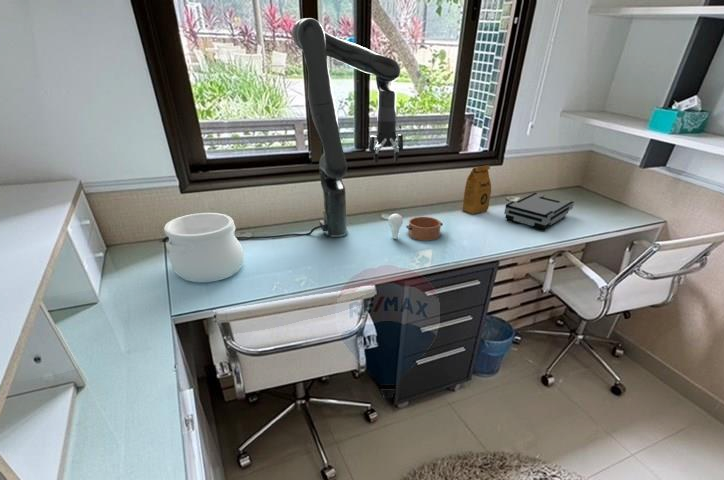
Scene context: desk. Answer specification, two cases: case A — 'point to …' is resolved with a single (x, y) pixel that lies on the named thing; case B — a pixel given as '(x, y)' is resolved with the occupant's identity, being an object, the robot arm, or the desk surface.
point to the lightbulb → (395, 224)
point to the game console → (537, 211)
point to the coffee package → (477, 190)
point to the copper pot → (424, 228)
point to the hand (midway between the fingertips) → (385, 162)
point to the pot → (204, 247)
